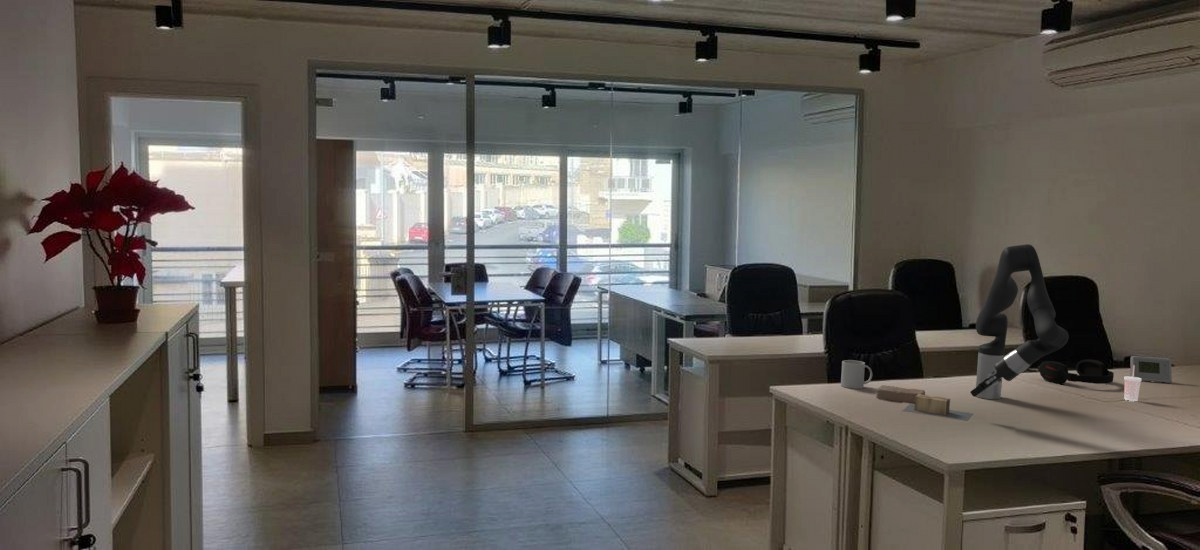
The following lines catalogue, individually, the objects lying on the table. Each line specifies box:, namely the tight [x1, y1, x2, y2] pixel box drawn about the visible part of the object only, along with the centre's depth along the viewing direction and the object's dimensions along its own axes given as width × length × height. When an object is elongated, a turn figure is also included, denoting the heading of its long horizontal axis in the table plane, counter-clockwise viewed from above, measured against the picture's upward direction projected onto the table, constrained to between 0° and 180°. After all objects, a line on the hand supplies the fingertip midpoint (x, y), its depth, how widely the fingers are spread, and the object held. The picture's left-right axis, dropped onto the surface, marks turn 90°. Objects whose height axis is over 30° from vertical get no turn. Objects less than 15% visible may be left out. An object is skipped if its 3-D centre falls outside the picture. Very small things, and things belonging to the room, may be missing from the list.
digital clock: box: [1129, 355, 1173, 384], centre depth 391 cm, size 16×9×11 cm, turn 63°
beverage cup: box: [1123, 365, 1142, 402], centre depth 349 cm, size 6×6×14 cm
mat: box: [901, 403, 974, 422], centre depth 317 cm, size 13×22×1 cm, turn 59°
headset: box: [1038, 359, 1115, 385], centre depth 384 cm, size 30×28×9 cm
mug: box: [840, 359, 873, 390], centre depth 357 cm, size 11×10×10 cm
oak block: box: [914, 394, 951, 415], centre depth 318 cm, size 5×5×11 cm
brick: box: [875, 385, 926, 404], centre depth 337 cm, size 17×8×5 cm, turn 59°
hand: (972, 394), depth 310 cm, fingers closed
